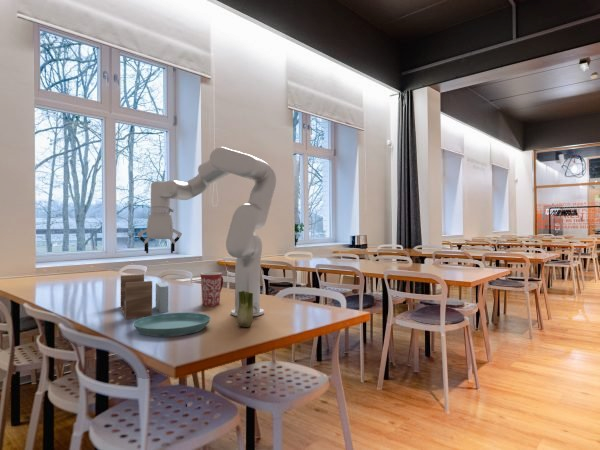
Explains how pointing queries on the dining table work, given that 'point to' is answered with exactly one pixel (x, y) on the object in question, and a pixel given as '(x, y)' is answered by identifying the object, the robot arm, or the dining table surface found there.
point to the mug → (211, 288)
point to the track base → (136, 296)
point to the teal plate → (171, 324)
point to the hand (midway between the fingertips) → (159, 253)
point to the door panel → (162, 297)
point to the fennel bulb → (245, 309)
